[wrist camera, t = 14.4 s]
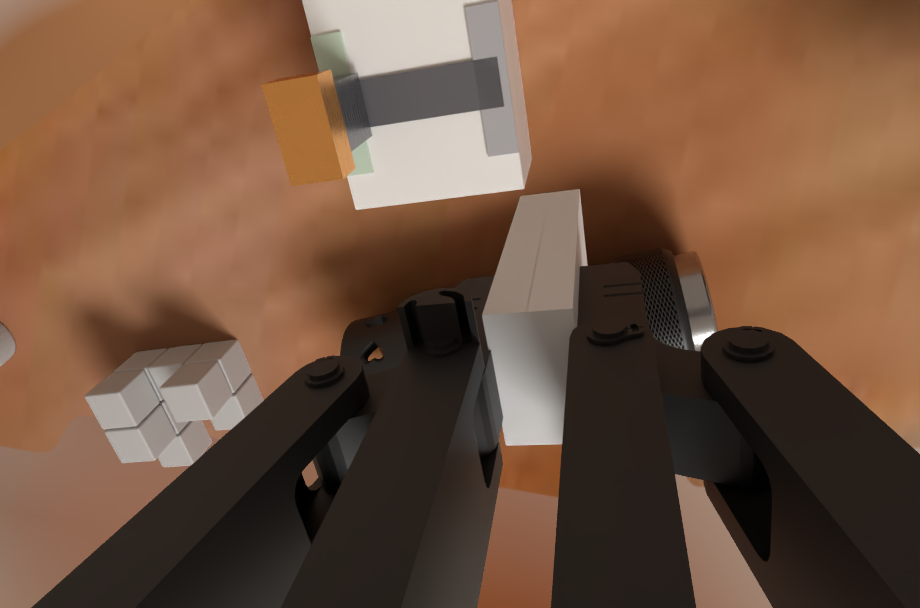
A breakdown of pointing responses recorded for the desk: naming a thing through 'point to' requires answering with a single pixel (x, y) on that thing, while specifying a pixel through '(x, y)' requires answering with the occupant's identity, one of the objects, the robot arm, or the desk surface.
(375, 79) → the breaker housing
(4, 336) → the coffee cup
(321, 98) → the breaker toggle
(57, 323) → the desk surface
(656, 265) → the muzzle brake
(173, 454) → the puzzle cube
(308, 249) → the desk surface
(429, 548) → the robot arm
